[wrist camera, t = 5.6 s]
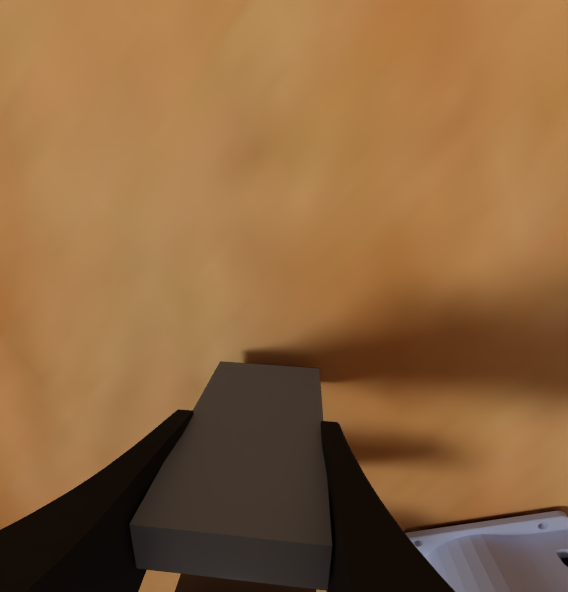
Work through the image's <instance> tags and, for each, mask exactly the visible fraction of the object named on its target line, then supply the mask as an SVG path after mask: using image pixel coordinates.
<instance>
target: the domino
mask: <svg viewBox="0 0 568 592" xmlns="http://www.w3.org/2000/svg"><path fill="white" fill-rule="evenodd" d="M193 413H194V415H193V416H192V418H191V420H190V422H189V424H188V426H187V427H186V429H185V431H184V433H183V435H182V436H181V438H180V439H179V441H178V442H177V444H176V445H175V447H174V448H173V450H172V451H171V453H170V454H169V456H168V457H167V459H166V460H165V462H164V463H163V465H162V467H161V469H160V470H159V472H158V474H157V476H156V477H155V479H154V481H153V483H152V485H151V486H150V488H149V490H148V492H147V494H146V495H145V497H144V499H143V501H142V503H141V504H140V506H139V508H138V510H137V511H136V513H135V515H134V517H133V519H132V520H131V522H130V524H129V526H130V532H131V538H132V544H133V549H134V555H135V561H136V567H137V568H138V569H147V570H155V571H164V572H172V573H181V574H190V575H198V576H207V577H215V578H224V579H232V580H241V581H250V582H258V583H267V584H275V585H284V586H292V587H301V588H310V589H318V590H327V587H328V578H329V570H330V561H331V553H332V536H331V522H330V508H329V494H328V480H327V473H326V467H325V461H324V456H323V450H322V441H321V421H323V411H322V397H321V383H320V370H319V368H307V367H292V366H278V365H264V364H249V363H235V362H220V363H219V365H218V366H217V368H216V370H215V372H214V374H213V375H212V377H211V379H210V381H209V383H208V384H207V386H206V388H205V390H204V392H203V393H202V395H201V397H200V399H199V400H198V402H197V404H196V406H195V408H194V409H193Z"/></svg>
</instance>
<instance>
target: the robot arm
mask: <svg viewBox="0 0 568 592" xmlns="http://www.w3.org/2000/svg"><path fill="white" fill-rule="evenodd" d="M193 415H194V413H193V411H190V410H177V411H176V412H175V413H173V414H172V415H171V416H170V417H168V418H167V419H166V420H165V421H164V422H162V423H161V424H160V425H159V426H158V427H157V428H155V429H154V430H153V431H152V432H151V433H149V434H148V435H147V436H146V437H144V438H143V439H142V440H141V441H139V442H138V443H137V444H136V445H135V446H133V447H132V448H131V449H129V450H128V451H127V452H125V453H124V454H123V455H121V456H120V457H119V458H117V459H116V460H115V461H113V462H112V463H111V464H109V465H108V466H107V467H105V468H104V469H103V470H101V471H100V472H98V473H97V474H95V475H94V476H92V477H91V478H90V479H88V480H86V481H85V482H83V483H82V484H80V485H79V486H77V487H76V488H74V489H73V490H71V491H69V492H68V493H66V494H64V495H63V496H61V497H59V498H57V499H56V500H54V501H52V502H51V503H49V504H47V505H45V506H44V507H42V508H40V509H38V510H37V511H35V512H33V513H32V514H30V515H28V516H26V517H24V518H22V519H20V520H19V521H17V522H15V523H13V524H11V525H9V526H7V527H5V528H3V529H1V530H0V592H138V591H139V588H140V586H141V583H142V580H143V578H144V575H145V572H146V570H147V569H138V568H137V567H136V561H135V555H134V549H133V544H132V538H131V532H130V526H129V524H130V522H131V520H132V519H133V517H134V515H135V513H136V511H137V510H138V508H139V506H140V504H141V503H142V501H143V499H144V497H145V495H146V494H147V492H148V490H149V488H150V486H151V485H152V483H153V481H154V479H155V477H156V476H157V474H158V472H159V470H160V469H161V467H162V465H163V463H164V462H165V460H166V459H167V457H168V456H169V454H170V453H171V451H172V450H173V448H174V447H175V445H176V444H177V442H178V441H179V439H180V438H181V436H182V435H183V433H184V431H185V429H186V427H187V426H188V424H189V422H190V420H191V418H192V416H193ZM321 441H322V450H323V456H324V461H325V467H326V473H327V480H328V494H329V508H330V522H331V536H332V553H331V561H330V570H329V578H328V587H327V592H568V516H567V514H566V513H564V512H562V511H551V512H544V513H537V514H530V515H523V516H516V517H509V518H503V519H496V520H489V521H482V522H475V523H468V524H462V525H455V526H448V527H441V528H434V529H427V530H420V531H414V532H407V533H404V531H403V530H402V529H401V528H400V526H399V525H398V524H397V522H396V521H395V520H394V518H393V517H392V516H391V514H390V513H389V511H388V510H387V509H386V507H385V506H384V504H383V503H382V501H381V500H380V498H379V497H378V495H377V494H376V492H375V491H374V489H373V488H372V486H371V484H370V483H369V481H368V480H367V478H366V476H365V475H364V473H363V471H362V469H361V468H360V466H359V464H358V462H357V460H356V459H355V457H354V455H353V453H352V451H351V449H350V447H349V445H348V443H347V441H346V439H345V437H344V434H343V432H342V430H341V427H340V425H339V424H338V423H337V422H328V421H321Z"/></svg>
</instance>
